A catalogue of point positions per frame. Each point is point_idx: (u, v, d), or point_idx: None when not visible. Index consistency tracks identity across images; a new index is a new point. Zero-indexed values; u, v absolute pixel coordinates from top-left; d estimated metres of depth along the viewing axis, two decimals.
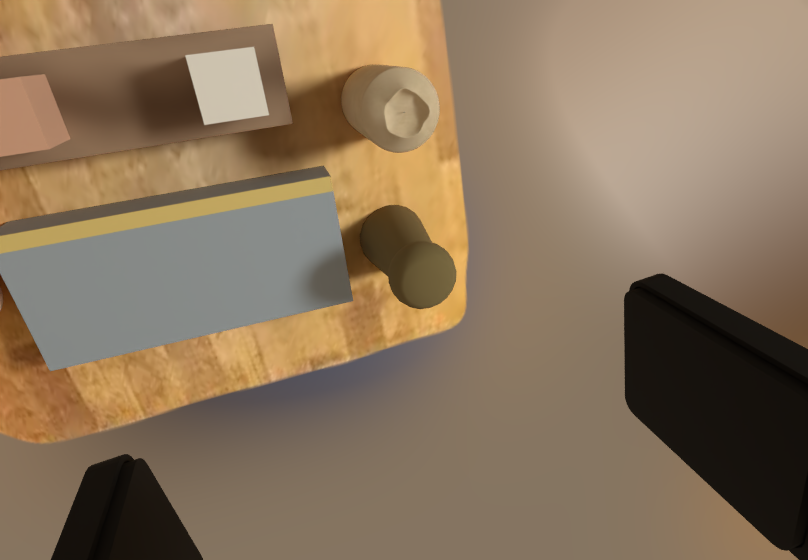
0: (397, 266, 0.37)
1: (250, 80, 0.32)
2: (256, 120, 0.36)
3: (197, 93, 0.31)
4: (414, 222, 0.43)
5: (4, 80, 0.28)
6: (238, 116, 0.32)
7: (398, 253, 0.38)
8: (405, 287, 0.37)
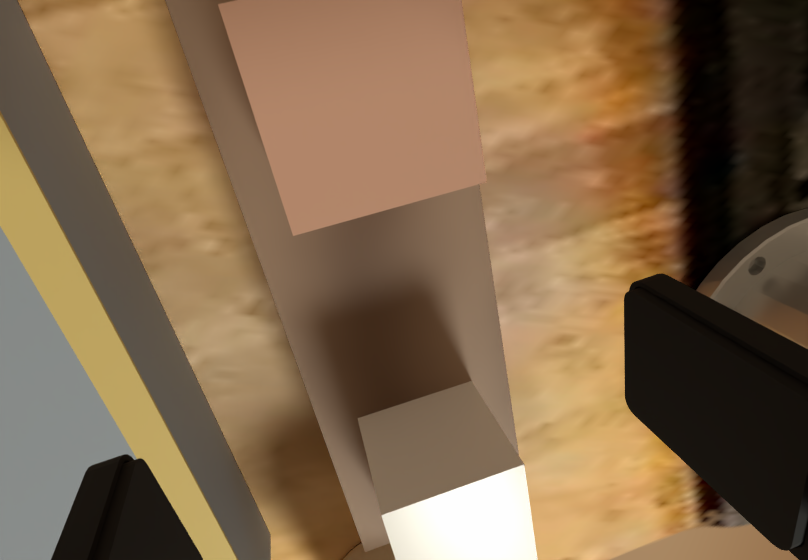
0: None
1: None
2: (366, 500, 0.18)
3: (449, 494, 0.13)
4: None
5: (477, 144, 0.10)
6: None
7: None
8: None
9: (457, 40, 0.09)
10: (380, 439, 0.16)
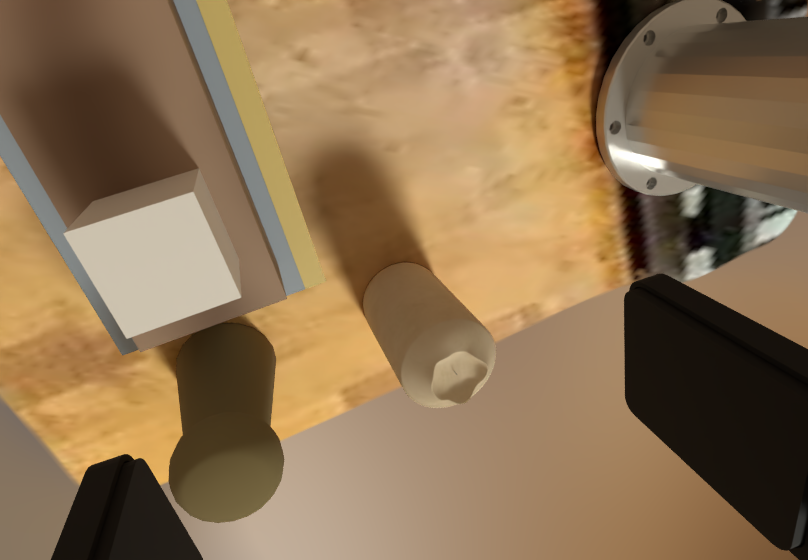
0: (243, 434, 0.23)
1: (182, 300, 0.17)
2: None
3: (126, 216, 0.16)
4: None
5: None
6: (104, 290, 0.17)
7: (257, 421, 0.24)
8: (215, 461, 0.22)
9: None
10: (99, 205, 0.18)
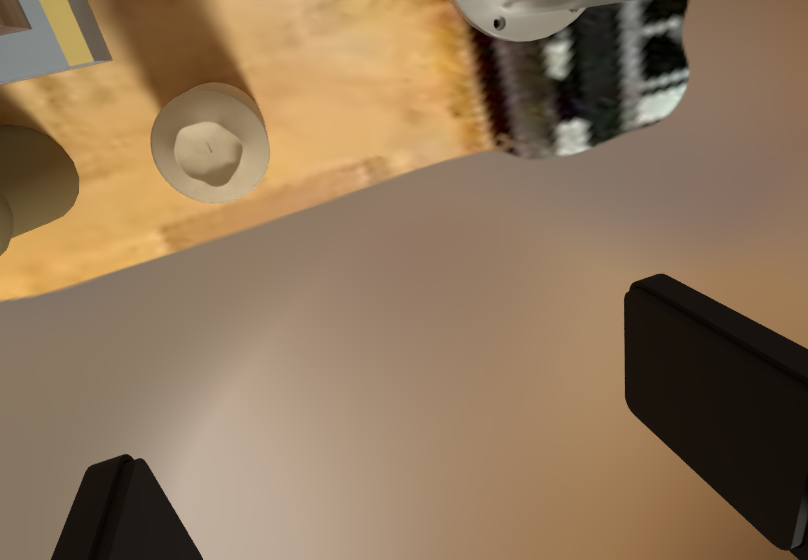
0: None
1: None
2: None
3: None
4: (52, 203, 0.29)
5: None
6: None
7: None
8: None
9: None
10: None
